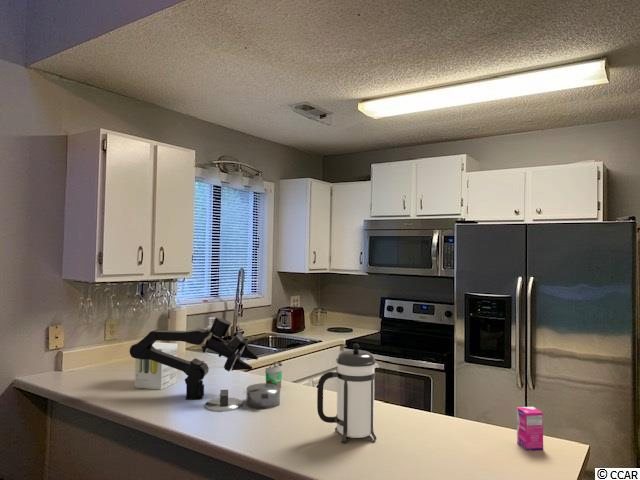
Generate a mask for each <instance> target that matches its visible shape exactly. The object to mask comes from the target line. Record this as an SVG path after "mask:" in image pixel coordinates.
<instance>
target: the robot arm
mask: <svg viewBox="0 0 640 480" xmlns="http://www.w3.org/2000/svg"><path fill="white" fill-rule="evenodd" d="M231 325H232V323H231V322H230V321H229V320H227V319H223V318H219V317H215V318H214V319H213V323H212V325H211V328H209V329H205V328H202V327H201V328H193V329H190V330H189V329H188V330H161V329H160V330H159V329H154V330H151V331H149V333H148V334H147V335H145V336H144V337H143V338H142V339H141V340H140V341H139V342H136V343H135V344H132V345H131V346H130V347H129V354H130V355H129V356H130V357H131V358H133V359H135V360H136V359H143V360H153V361H156V362H158V363H161V364H164V365H167V366H169V367H172V368H175V369H177V371H181V372H183V373H184V374H185V375H186V376H187V377H185V379H184V382H185V384H186V386H185V387H186V391H185V393H186V394H185V400H202V399H203V398H204V397H205V396H204V395H205V384H204V381H203V380H204V379H205V376H206V375H208V373H209V369H210V368H209V366H208V364H207V363H206V362H205V360H200V359H198V358H196V357H193V359H191V360H187V359H184V358H181V357H178V356H177V357H176V356H173V355H170V354H167V353H164V352H162V351H159V350H156V349H155V348H154V347H153V346H152V345H153V344H154V343H155V342H158V341H160V342H161V341H163V342H165V341H167V342H184V343H187V344H189V345H195V346H199V345H202V346H201V350H202V353H203V354H206V352H207V351H208V350H210V351H212V352H214V353H215V354H218V357H219V358H221V357H222V356H223V357H224V358H226V361H225V363H224V365H223V368H224V370H225V371H227V372H231V371H232V372H233V371H242V370H243V371H247V370H249V371H251V370H253V366H251V365H250V364H248V363H247V362H246V361H243V360H242V359H241V357H242V358H246V359H251V360H259V356H258V355H257V354H256V353H254V351H253V350H251V348H250V347H249V342H248V340H247V339H245V336H244V333H243V332H240V331H235V332H234V333H233V335H232V336H233V338H232V339H226V340H224V339H222V338H223V337H224V338H225V337H226V336H227V333H228V332H229V330H230V327H231ZM208 337H210V338H208ZM204 342H205V343H204ZM203 343H204V345H203Z"/></svg>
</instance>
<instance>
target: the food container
mask: <svg viewBox="0 0 640 480" xmlns="http://www.w3.org/2000/svg"><path fill="white" fill-rule="evenodd" d="M283 371H284V365H283V363H281V362H277V361H273V363H272V365H270V366H268V367H265V383H267V384H275V385H278V386H279V387H280V389H281V387H282V377H283V375H282V374H283Z"/></svg>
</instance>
